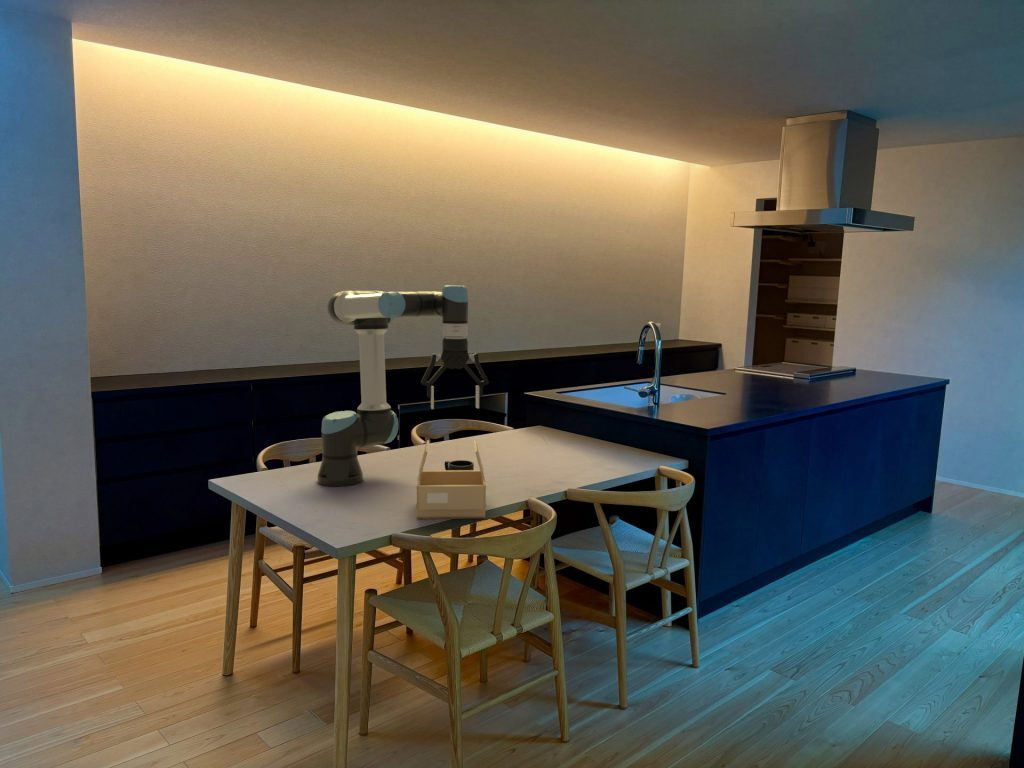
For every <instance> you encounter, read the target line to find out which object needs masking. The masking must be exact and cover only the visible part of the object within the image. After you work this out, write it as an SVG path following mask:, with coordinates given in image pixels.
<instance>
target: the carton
mask: <svg viewBox="0 0 1024 768" xmlns="http://www.w3.org/2000/svg"><path fill="white" fill-rule="evenodd" d="M416 481H417V482H416V520H440V519H441V520H443V519H445V520H448V519H450V520H451V519H454V520H455V519H457V520H458V519H460V520H462V519H486V502H487V501H486V499H487V498H486V497H487V495H486V493H487V491H486V486H487V485H486V484H487V483H486V479H485V480H484V481H483V479H482V475H481V472H480V469H478V470H477V469H474V470H444V469H443V470H441V469H440V470H431V469H430V470H423V471H422V474H421V478H420V481H418V480H416Z"/></svg>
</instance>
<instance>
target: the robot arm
mask: <svg viewBox="0 0 1024 768" xmlns="http://www.w3.org/2000/svg"><path fill="white" fill-rule="evenodd" d="M468 291H469V290H468V287H467V286H466V285H449V284H448V285H447V284H446V285H444V286H442V290H441V291H435V290H425V291H417V290H416V291H414V290H413V291H395V290H393V291H391V290H390V291H382V290H375V289H372V290H371V289H370V290H342V291H338V292H336V293H334V294H333V295H332V296H331V297H330V298H329V300H328V302H327V313H328V315H329V317H330V319H332V320H333V321H334V322H336V323H338V324H341V325H345V326H353V330H354V332H355V333H357V334H358V342H359V344H358V345H359V347H358V349H359V369H360V370H359V371H360V372H359V374H360V395H361V396H360V397H361V403H360V404H359V405H358V407H357V412H356V411H353V410H344V411H343V410H341V411H340V410H339V411H334V412H332V413H331V412H330V413H329V414H327V415H325V416H323V418H322V421H321V429H320V431H321V444H322V445H321V447H322V453H321V454H322V458H321V459H322V460H321V462H320V466H319V468H318V472H317V483H318V484H320V485H323V486H328V487H345V486H351V485H357V484H359V483H362V482H363V481H364V475H363V474H364V473H363V469H362V466H361V464H360V462H359V461H360V460H359V458H358V449H361V448H367V447H373V446H382V445H385V444H388V443H391V442H392V441H393V440H395V438H396V436H397V434H398V431H399V417H397V414H396V412H394V411H393V410H392V407H391V405H390V404H389V403H388V402H387V388H386V387H387V383H386V381H387V380H386V355H385V351H386V350H385V333H387V331H388V330H389V325H390V324H391V323H393V321H394V318H410V317H411V318H412V317H419V318H421V317H442V321H441V323H442V345H441V346H442V352H441V354H436V353H434V352H433V353H432V354H431V360H430V362H429V365H428V367H427V368H426V370H425V372H424V375H423V376H422V378H421V380H420V384H421V385H422V386H425V387H426V396H427V398H430V409H431V410H435V409H434V408H435V407H434V406H435V398H434V397H435V396H434V395H435V390H434V389H435V387H434V383H435V382H436V381H437V380H438V379H439V377H441V375H442V374H443V373H444V372H445V371H446V370H447V369H450V370H454V369H457V370H460V369H462V368H464V370H465V371H466V372H467V373H468V374H469V375H470V377H471V378H472V379H473V380H474V382H475V383H477V385H475V408H476V409H480V398H482V397H483V395H484V387H485V386H486V385H489V384H490V381H489V380H488V377H487V375H486V373H485V371H484V368H483V367H482V365H481V363H480V360H479V354H478V353H473V354H469V351H468V350H469V349H468V348H469V345H468V344H469V341H468V338H467V337H468V336H469V335H468V333H469V332H468V331H469V329H468V326H469V325H468V324H469V323H468V321H469V317H468V316H469V295H468ZM443 337H444V338H443ZM440 359H441V360H442V362H443V364H442V365H441V366H440V367H439V368H438V370H437V371H436V372H435V373H434V375H432V377H430V376H431V375H430V374H431V373H432V371H433V369H434V367H435V365H436V362H438V361H439V360H440ZM469 359H471V361H472V362H474V365H475V367H476V369H477V371H478V373H479V374H480V377H481V378H482V380H481V379H480V378H479V377H478V376H477V375H476V374H475V373H474V371H473V370H472V369H471V367H469V365H468V364H467V362H468V361H469ZM429 377H430V379H429ZM428 379H429V380H428Z"/></svg>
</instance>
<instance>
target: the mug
mask: <svg viewBox="0 0 1024 768" xmlns="http://www.w3.org/2000/svg"><path fill="white" fill-rule="evenodd" d="M474 465H475V464H474V462H473V461H470V460H467V459H466V460H465V459H464V460H463V459H458V460H452V461H449V460H447V461H445V462H444V469H445V470H475V469H474V467H475V466H474Z"/></svg>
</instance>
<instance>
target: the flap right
mask: <svg viewBox="0 0 1024 768" xmlns="http://www.w3.org/2000/svg"><path fill="white" fill-rule="evenodd" d="M473 446H474V452H475V453H474V454H475V456H476V460H477V463H478V468H479V470H480V472H481V475H482V479H483V481H484V480H485V481H486V478H485V473H484V467H483V462H482V458H481V455H480V452H479V450H480V449H479V447H478V443H477V440H476V439H474V440H473Z"/></svg>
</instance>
